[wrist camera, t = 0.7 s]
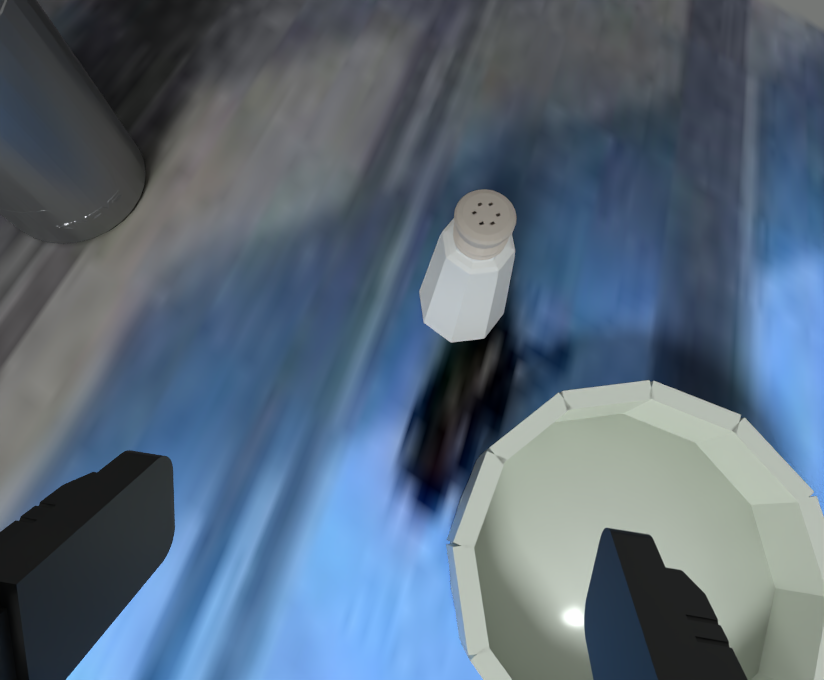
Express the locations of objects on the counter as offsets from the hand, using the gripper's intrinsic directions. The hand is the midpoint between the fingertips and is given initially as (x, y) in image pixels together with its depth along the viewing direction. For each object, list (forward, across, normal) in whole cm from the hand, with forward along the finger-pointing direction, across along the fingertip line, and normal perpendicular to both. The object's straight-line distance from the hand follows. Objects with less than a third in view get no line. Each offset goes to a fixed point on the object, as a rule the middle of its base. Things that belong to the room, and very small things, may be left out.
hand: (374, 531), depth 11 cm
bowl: (+19, -11, +14) cm, 26 cm away
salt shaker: (+27, 0, +2) cm, 27 cm away
